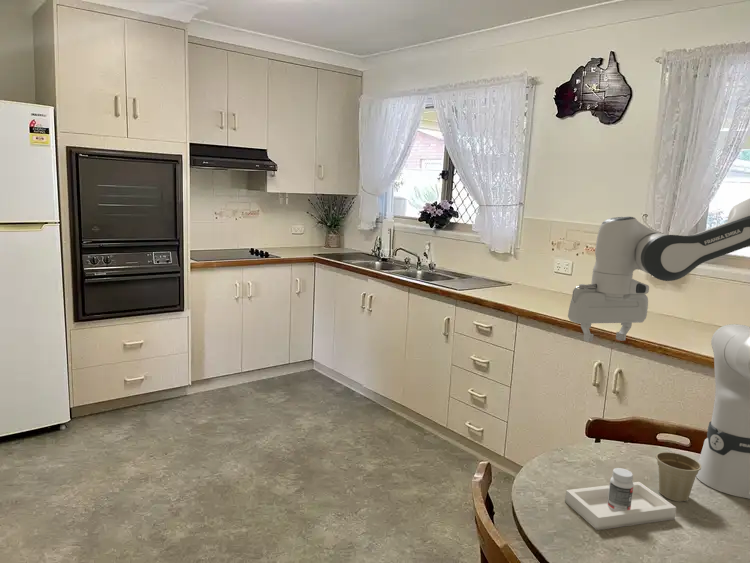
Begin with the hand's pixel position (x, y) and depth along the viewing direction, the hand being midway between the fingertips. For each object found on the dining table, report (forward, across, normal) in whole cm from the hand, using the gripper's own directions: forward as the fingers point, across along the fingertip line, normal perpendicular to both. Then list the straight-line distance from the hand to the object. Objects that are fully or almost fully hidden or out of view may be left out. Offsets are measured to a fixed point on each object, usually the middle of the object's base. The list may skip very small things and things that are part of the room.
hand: (604, 340), depth 135 cm
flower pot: (+34, +13, -14) cm, 39 cm away
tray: (+34, -5, -17) cm, 38 cm away
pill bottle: (+34, -5, -17) cm, 38 cm away
